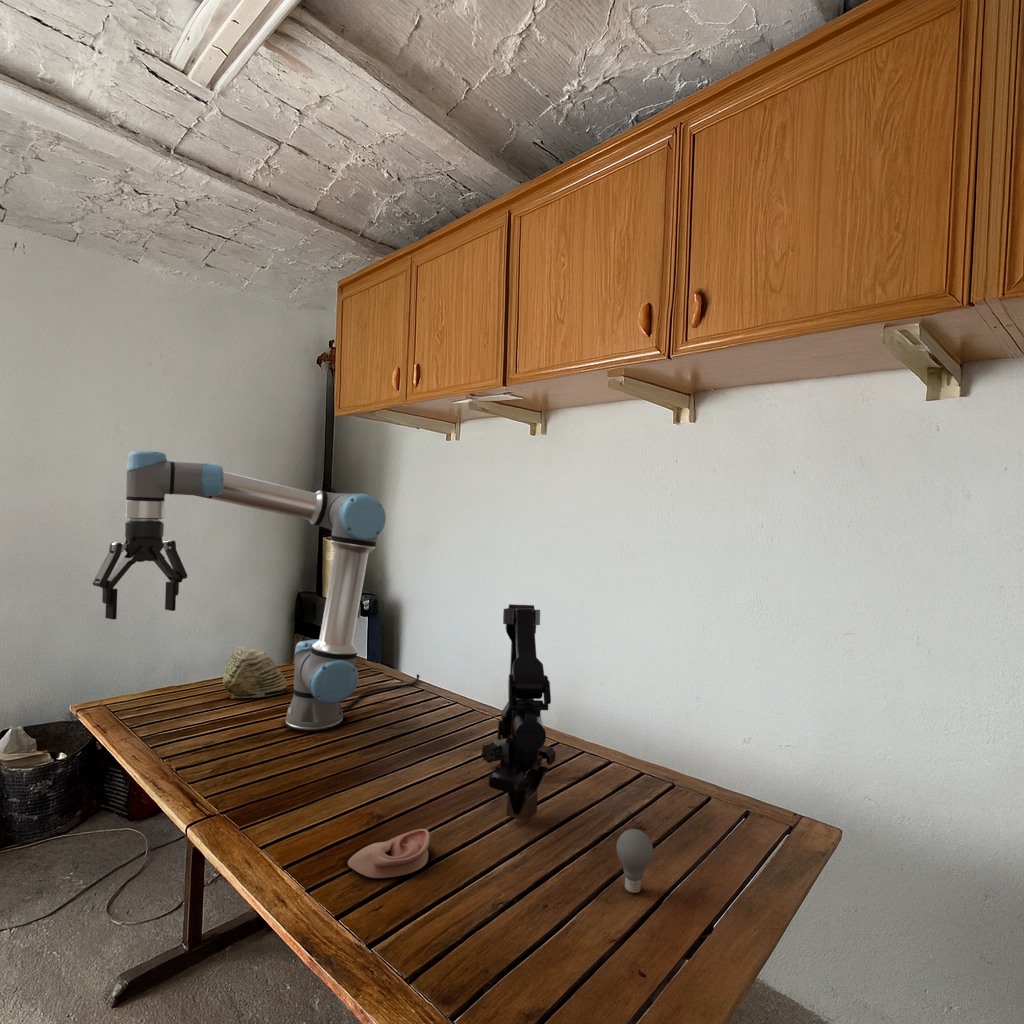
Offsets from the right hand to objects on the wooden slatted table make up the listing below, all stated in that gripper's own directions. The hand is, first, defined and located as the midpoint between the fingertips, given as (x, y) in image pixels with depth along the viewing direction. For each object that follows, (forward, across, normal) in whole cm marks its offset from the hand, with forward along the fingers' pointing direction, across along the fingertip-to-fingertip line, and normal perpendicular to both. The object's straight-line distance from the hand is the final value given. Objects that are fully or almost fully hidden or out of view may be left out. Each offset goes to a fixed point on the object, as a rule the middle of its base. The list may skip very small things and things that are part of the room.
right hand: (522, 808), depth 127 cm
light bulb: (+3, +11, +26) cm, 28 cm away
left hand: (-32, +25, -85) cm, 94 cm away
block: (+1, 0, 0) cm, 1 cm away
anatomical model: (+3, +25, -14) cm, 28 cm away
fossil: (+3, -25, -106) cm, 109 cm away
